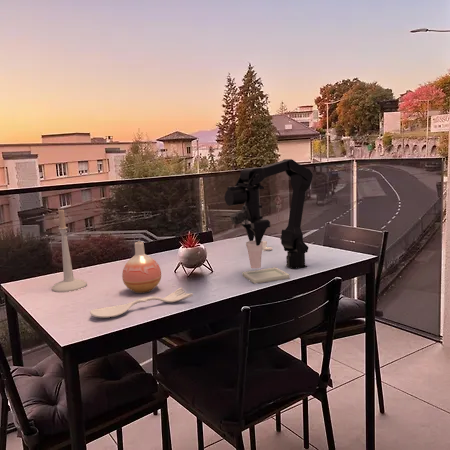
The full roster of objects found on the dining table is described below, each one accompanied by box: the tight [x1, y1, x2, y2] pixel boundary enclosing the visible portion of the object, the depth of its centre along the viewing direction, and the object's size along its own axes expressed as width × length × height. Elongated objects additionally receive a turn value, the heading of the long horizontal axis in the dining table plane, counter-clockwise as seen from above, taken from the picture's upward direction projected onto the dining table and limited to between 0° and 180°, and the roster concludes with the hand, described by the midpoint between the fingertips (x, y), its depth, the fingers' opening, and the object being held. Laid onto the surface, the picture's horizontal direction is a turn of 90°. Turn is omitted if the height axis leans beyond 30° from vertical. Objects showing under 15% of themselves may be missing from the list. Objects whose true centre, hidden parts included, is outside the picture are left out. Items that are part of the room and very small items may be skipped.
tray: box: [241, 267, 291, 285], centre depth 174 cm, size 14×12×2 cm
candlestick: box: [51, 209, 88, 293], centre depth 174 cm, size 13×13×30 cm
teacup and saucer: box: [261, 240, 273, 252], centre depth 222 cm, size 9×8×4 cm
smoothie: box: [245, 240, 263, 270], centre depth 174 cm, size 6×6×14 cm
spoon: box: [89, 287, 194, 319], centre depth 146 cm, size 9×32×4 cm, turn 119°
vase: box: [121, 241, 162, 294], centre depth 164 cm, size 14×14×18 cm
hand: (254, 243), depth 173 cm, fingers closed on smoothie, 6 cm apart
